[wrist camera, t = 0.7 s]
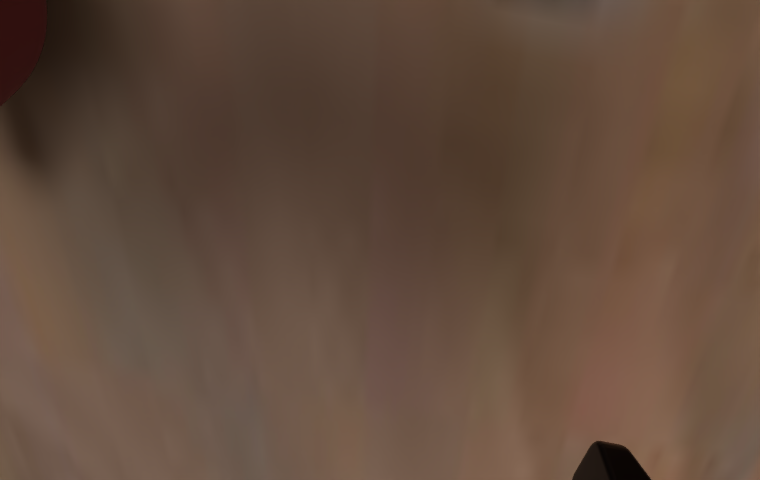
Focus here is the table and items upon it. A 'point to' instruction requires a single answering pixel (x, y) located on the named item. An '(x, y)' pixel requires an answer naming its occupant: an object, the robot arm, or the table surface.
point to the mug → (20, 42)
